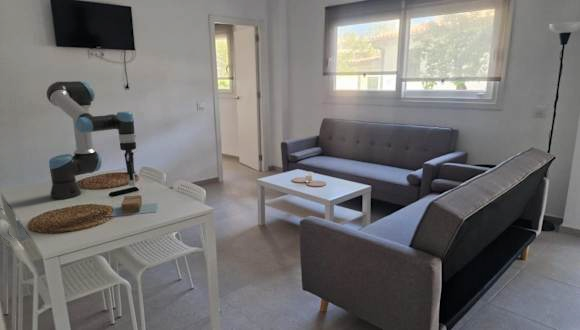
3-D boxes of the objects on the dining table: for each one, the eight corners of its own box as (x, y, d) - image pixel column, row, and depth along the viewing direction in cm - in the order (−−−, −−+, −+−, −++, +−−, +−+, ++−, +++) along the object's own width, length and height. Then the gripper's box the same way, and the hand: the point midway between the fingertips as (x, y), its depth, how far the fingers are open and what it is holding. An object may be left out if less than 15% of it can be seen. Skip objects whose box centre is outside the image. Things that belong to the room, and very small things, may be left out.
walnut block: (124, 196, 192) (121, 204, 179) (141, 195, 194) (138, 202, 182) (125, 205, 193) (122, 213, 181) (142, 203, 195) (139, 212, 183)
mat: (109, 207, 190) (109, 207, 190) (157, 203, 196) (157, 203, 196) (103, 217, 176) (103, 216, 176) (156, 212, 183) (156, 211, 183)
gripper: (134, 143, 182) (138, 188, 188) (136, 139, 195) (141, 181, 200) (117, 144, 180) (122, 189, 186) (121, 140, 193) (126, 183, 198)
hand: (132, 185), depth 193 cm, fingers closed
